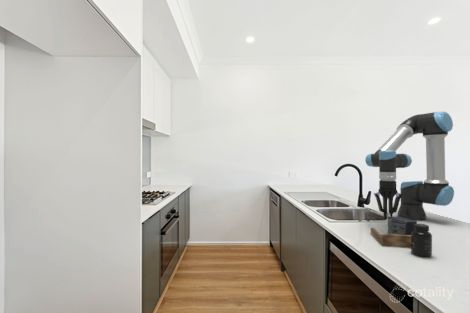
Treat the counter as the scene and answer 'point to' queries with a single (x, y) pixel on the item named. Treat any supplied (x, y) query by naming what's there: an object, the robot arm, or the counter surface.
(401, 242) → the channel
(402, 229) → the small box
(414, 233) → the supplement bottle
